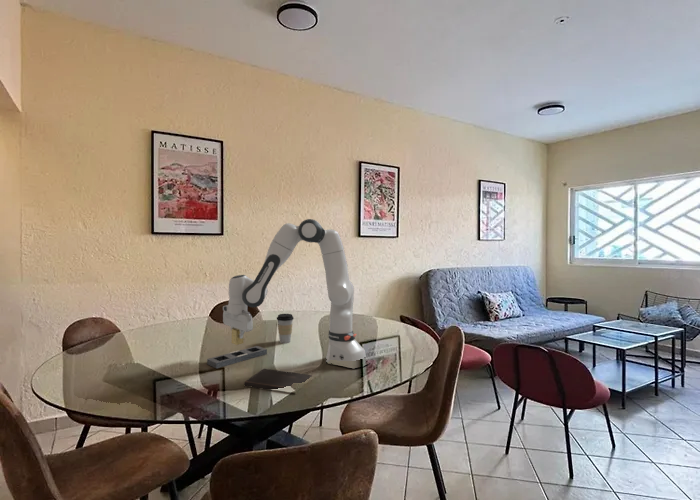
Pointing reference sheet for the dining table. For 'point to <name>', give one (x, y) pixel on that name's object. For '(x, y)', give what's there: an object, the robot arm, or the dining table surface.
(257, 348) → the grey slotted tray
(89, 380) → the dining table surface
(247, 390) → the dining table surface
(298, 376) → the hardcover book
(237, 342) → the block
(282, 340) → the coffee cup
